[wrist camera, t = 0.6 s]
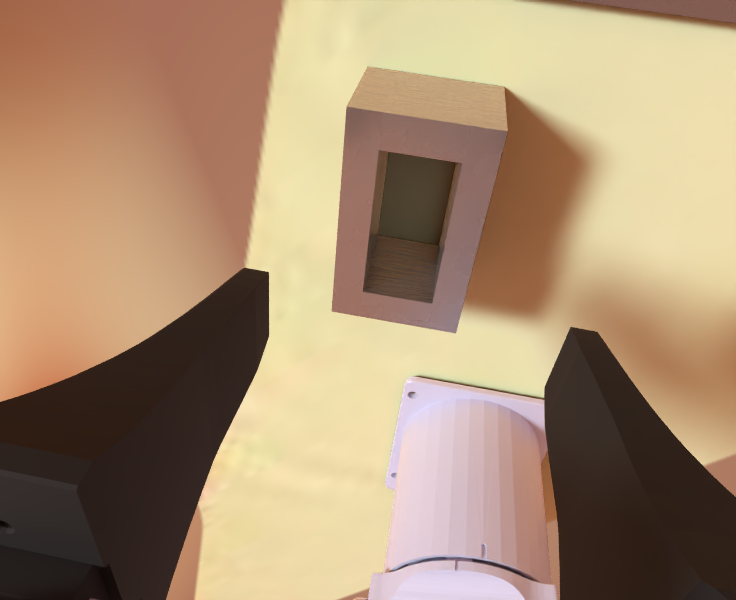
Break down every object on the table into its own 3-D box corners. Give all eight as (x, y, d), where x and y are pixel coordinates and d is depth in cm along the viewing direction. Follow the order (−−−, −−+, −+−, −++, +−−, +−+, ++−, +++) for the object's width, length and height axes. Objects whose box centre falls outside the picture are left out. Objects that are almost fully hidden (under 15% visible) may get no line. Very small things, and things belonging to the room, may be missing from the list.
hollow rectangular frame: (459, 272, 25) (455, 333, 22) (350, 254, 25) (331, 311, 22) (504, 86, 20) (507, 131, 17) (367, 66, 20) (346, 106, 17)
